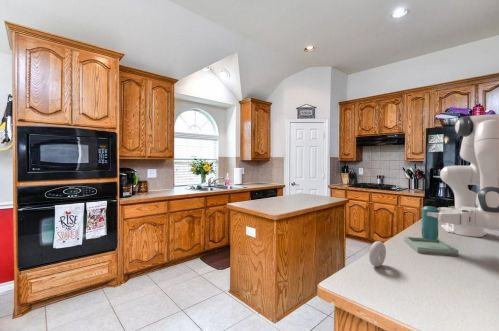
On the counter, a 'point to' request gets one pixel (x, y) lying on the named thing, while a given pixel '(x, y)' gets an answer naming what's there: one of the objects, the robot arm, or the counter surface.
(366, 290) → the counter surface
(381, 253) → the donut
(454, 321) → the counter surface
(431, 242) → the tray
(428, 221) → the beverage bottle
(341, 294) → the counter surface
